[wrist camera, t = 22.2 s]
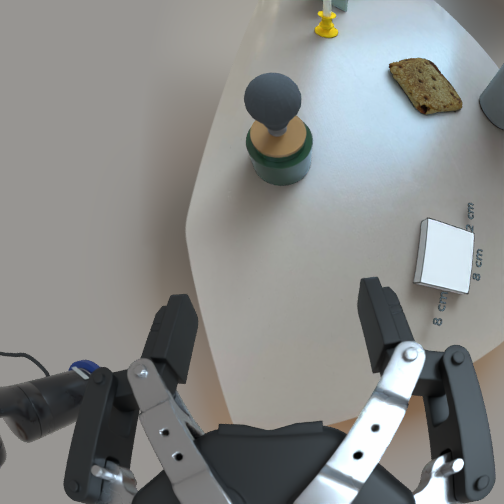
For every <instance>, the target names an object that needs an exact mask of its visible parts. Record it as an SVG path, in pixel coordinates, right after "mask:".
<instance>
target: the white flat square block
mask: <svg viewBox="0 0 504 504" xmlns="http://www.w3.org/2000/svg"><path fill="white" fill-rule="evenodd" d="M469 204H470V205H474V204H472V203H468V206H469V207H468V212H470V213H474V212H472V211H470V209H474V208H472V207H470V205H469ZM469 208H470V209H469ZM470 213H468V217H469V219H473V218H474V215H472V218H471V217H470V216H469V214H470ZM467 226H469V228H470V229H471V231H472V232H470V231H467V229H468V228H467ZM474 234H475V233H473V226H472V228H471V226H470V225H466V230H464V229H461V228H458V227H456V226H453V225H450V224H447V223H444V222H441V221H437V220H434V219H431V218H426V219H425V220H423V221H421V232H420V241H419V250H418V257H417V264H416V270H415V277H414V282H413V283H415V284H419V285H423V286H428V287H432V288H436V289H440V290H445V291H449V292H453V293H457V294H468V293H469V287H470V280H471V272H472V262H473V251H474ZM478 251H481V252H482V251H483V250H481V249H478V250H477V255H476V256H477V258H476V259H478V260H481V261H482V259H480V258H478V255H480V256H482V254H479V253H478ZM477 262H478V261H476V266H477V267H481V265H482V262H480V265H478V264H477ZM474 275H475V276H476V277H475V278H474ZM477 276H479V279H477ZM473 279H476V280H477V281H479V280H480V274H476V273H474V274H473ZM443 293H444V294H448V293H447V292H441V297H440V301H439V303H443V304H446V302H442V301H441V299H442V298H444V299H447V297H443V296H442V294H443ZM438 309H439V311H444V310H445V306H444V308H443V309H442V310H441V309H440V304H439V306H438ZM435 320H437V322H436V323H435V322H434V321H435ZM439 320H440V321H441V322H440V324H438V321H439ZM433 324H435V325H436V324H437V325H438V326H440V325H441V324H442V319H441V318H439V319H437V318H434V319H433Z"/></svg>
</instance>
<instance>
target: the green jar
mask: <svg viewBox="0 0 504 504" xmlns="http://www.w3.org/2000/svg"><path fill="white" fill-rule="evenodd" d="M312 145H313V138H312V134H311V131H310V129H309V128H308V126H307V125H306V124H305V123H304V122H303V121H302V120H301V119H300V118H299V117H298V116H295V117H294V118H293V119H292V120H290V121H289V123H288V125H287V131H286V133H285V134H284V135H282V136H279V137H275V136H272V135H271V134H270V133H269V132H268V129H267V128H266V127H265V126H264V124H262V123H260V122H258V121H257V120H255V122H254V123H253V125H252V127H251V128H250V130H249V131H248V134H247V137H246V147H247V150H248V153H249V156H250V159H251V161H252V164H253V167H254V169H255V171H256V173H257V175H258V176H259V177H260V178H261V179H263V180H264V181H266V182H267V183H270V184H273V185H278V186H285V185H291V184H294V183H296V182H298V181H299V180H301V179H302V178H303V177H304V176H305V175H306V174H307V172H308V171H309V168H310V165H311V157H312Z"/></svg>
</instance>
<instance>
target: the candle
mask: <svg viewBox="0 0 504 504" xmlns="http://www.w3.org/2000/svg"><path fill="white" fill-rule="evenodd" d="M318 15H319V16H320V17H322V21H321V22H320V23H319V26H317V27H315V33H316V34H318V35H319V36H321V37H326V38H333V37H336V36H337V35H338V30H337V29H336V28H334V24H333V23H332V19H333V18H335V17H336V14H335V13H333V12H331V0H323V11H319V12H318Z"/></svg>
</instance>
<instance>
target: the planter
mask: <svg viewBox="0 0 504 504" xmlns="http://www.w3.org/2000/svg"><path fill="white" fill-rule="evenodd" d="M322 1H323V0H322ZM347 2H348V0H331V5H333V6H335V7H337V8H339V9H341V10H343V11H347Z"/></svg>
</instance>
